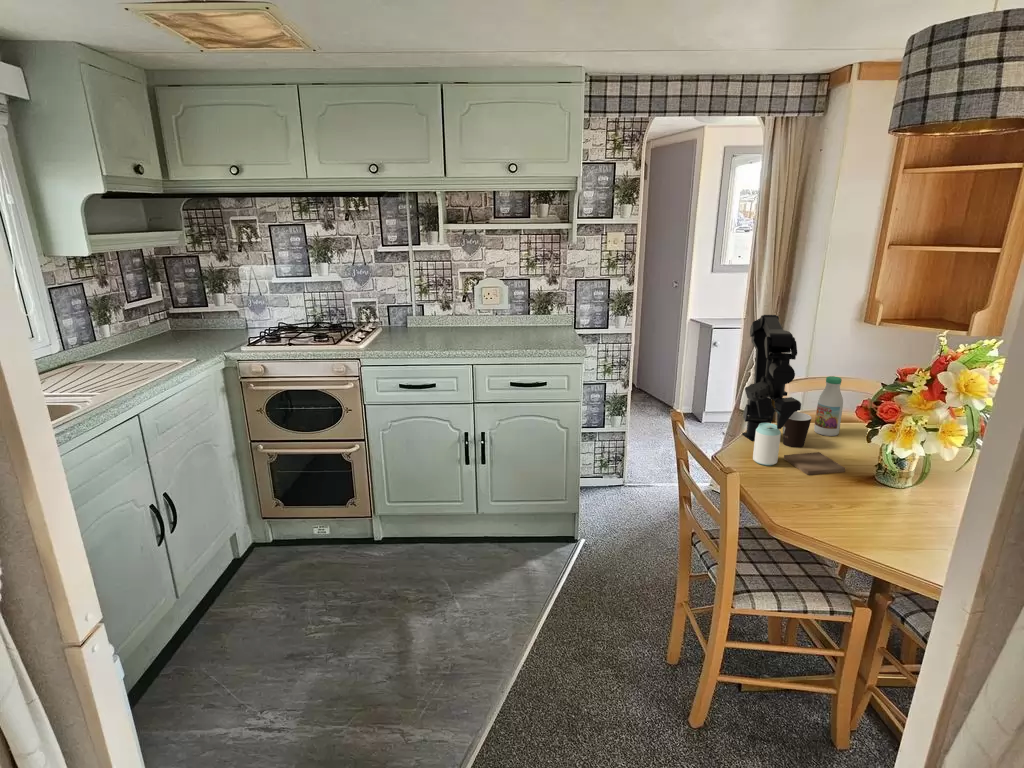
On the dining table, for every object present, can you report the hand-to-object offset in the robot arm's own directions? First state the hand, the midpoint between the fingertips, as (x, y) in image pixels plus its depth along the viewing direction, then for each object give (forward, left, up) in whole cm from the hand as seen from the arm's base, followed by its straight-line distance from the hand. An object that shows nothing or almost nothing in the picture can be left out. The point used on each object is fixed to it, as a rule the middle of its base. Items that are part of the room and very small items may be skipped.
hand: (770, 423), depth 175 cm
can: (0, 0, -13) cm, 13 cm away
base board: (+5, +13, -13) cm, 19 cm away
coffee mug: (-12, +18, -13) cm, 25 cm away
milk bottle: (-18, +34, -13) cm, 40 cm away
